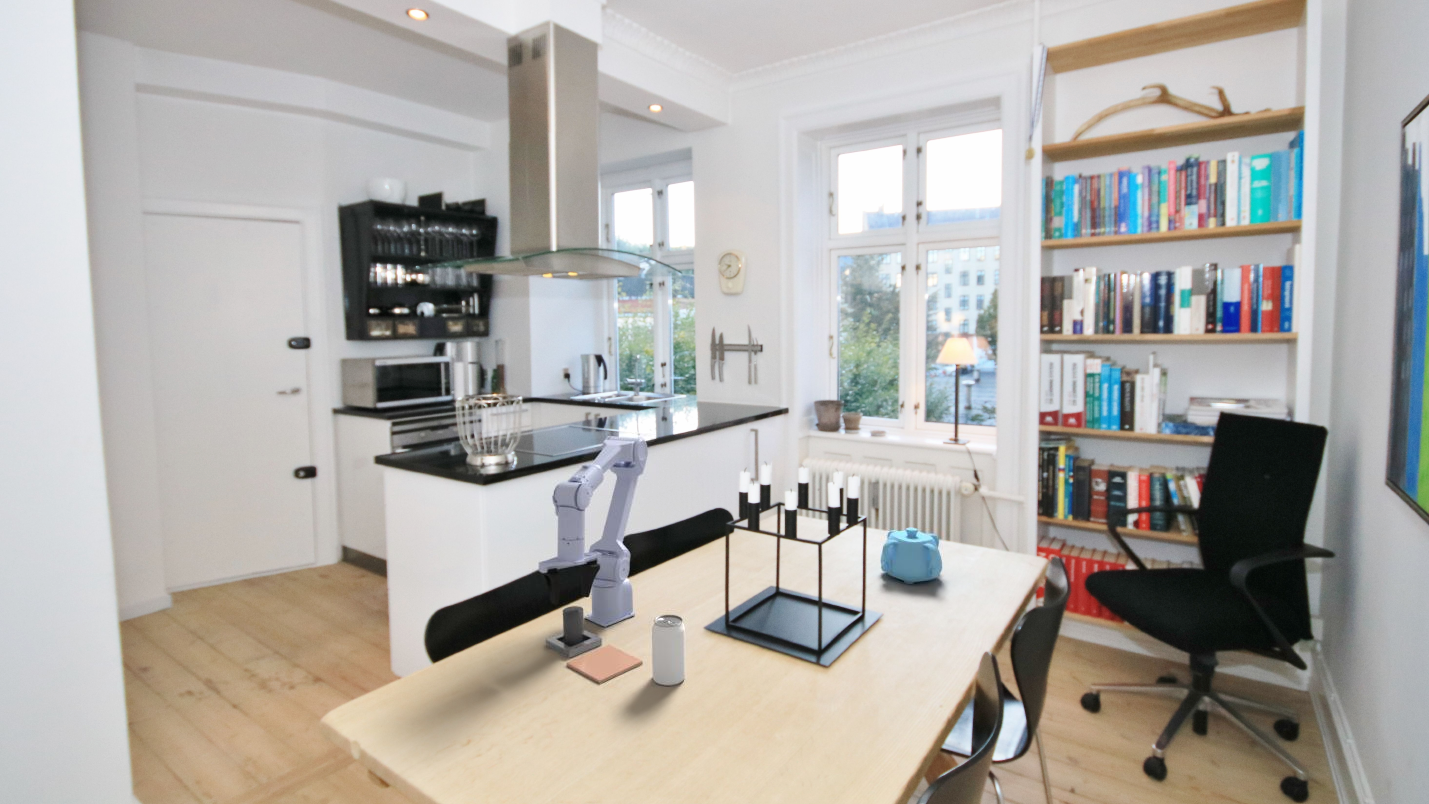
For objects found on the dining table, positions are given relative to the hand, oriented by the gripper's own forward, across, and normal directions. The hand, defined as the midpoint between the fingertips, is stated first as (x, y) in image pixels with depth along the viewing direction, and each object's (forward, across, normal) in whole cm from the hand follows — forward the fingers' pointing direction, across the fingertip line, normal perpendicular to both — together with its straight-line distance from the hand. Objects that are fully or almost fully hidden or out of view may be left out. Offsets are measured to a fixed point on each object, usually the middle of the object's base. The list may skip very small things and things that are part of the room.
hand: (570, 599), depth 154 cm
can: (+11, +7, -25) cm, 29 cm away
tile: (+11, +1, -12) cm, 16 cm away
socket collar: (+10, +1, 0) cm, 10 cm away
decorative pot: (+5, +91, -28) cm, 95 cm away
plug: (+10, +1, 0) cm, 11 cm away
